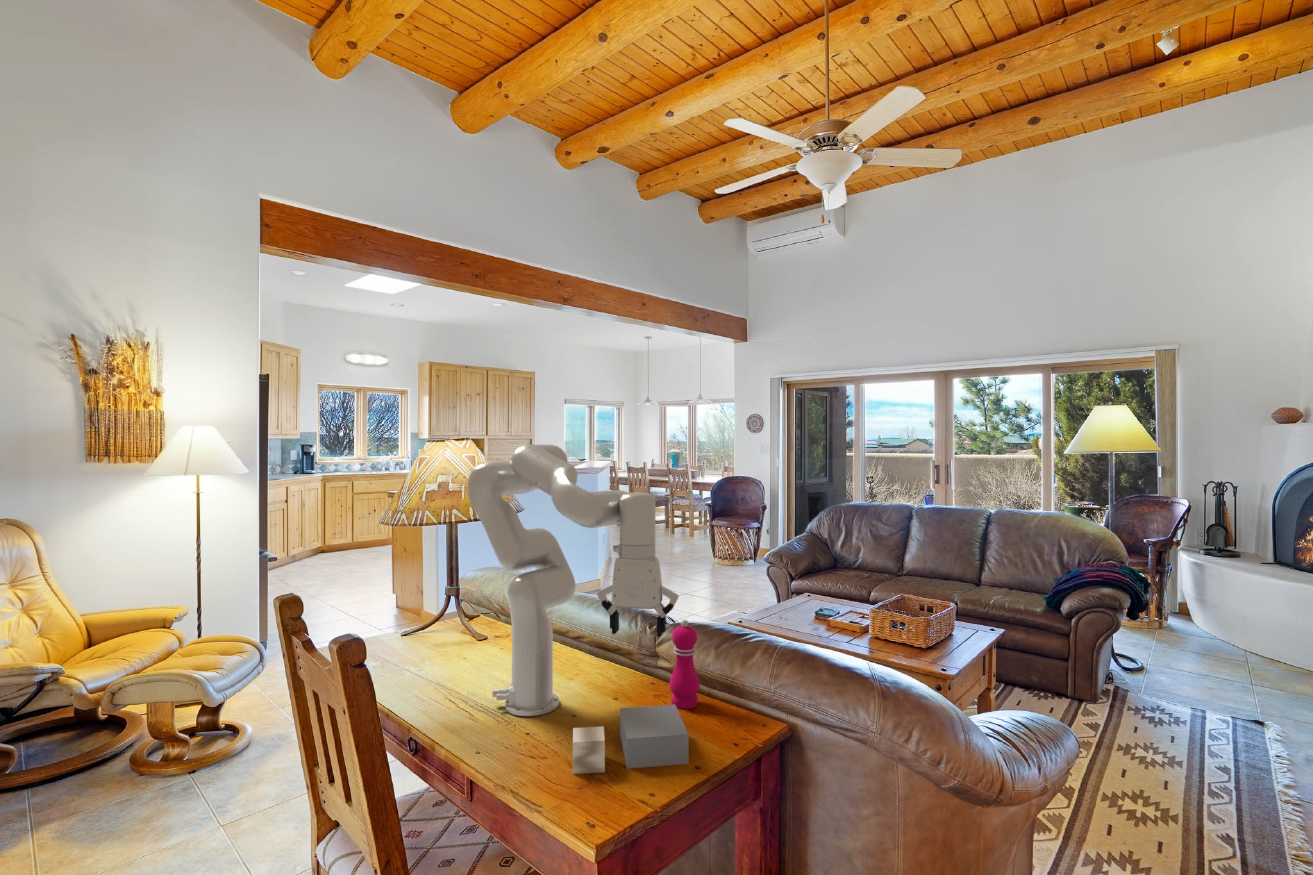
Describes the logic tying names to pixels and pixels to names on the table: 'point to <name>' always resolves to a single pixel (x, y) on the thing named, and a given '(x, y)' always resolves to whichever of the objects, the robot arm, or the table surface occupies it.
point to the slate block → (653, 736)
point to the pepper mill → (684, 668)
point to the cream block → (588, 750)
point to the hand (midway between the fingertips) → (637, 633)
